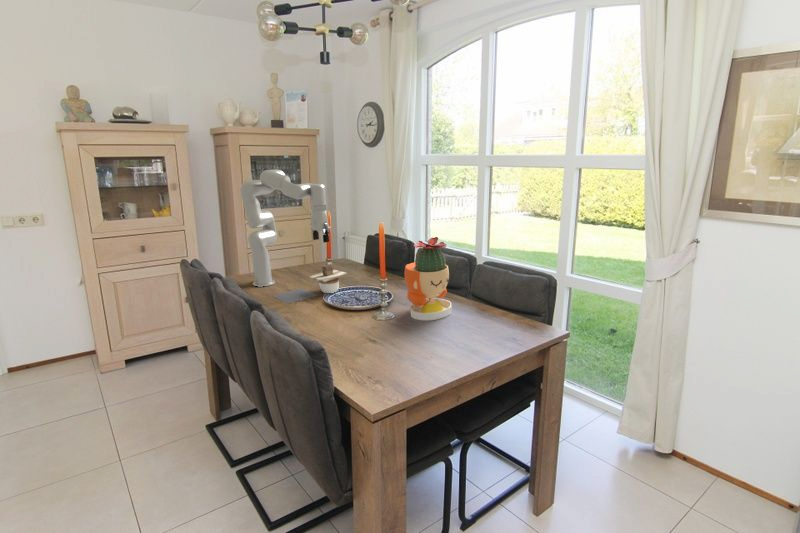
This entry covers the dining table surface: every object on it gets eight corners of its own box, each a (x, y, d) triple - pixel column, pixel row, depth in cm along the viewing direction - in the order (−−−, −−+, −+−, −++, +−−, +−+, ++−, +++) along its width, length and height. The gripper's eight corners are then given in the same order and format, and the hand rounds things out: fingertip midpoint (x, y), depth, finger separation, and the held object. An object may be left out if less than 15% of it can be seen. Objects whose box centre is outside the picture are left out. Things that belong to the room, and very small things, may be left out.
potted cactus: (460, 309, 214) (459, 236, 205) (429, 324, 198) (428, 245, 189) (424, 300, 228) (423, 231, 219) (393, 313, 212) (390, 239, 204)
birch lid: (309, 277, 245) (307, 267, 243) (332, 270, 254) (330, 260, 253) (324, 282, 234) (322, 271, 232) (348, 274, 243) (346, 264, 242)
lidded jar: (341, 289, 251) (340, 273, 249) (337, 296, 241) (336, 278, 238) (322, 289, 252) (321, 273, 250) (317, 296, 242) (316, 279, 240)
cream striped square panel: (271, 296, 244) (271, 295, 244) (301, 289, 255) (301, 288, 255) (288, 304, 231) (288, 303, 230) (318, 295, 242) (318, 295, 242)
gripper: (303, 207, 239) (306, 239, 244) (321, 210, 227) (324, 244, 231) (316, 206, 244) (318, 237, 249) (334, 209, 232) (336, 242, 236)
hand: (321, 240), depth 240 cm, fingers open, 9 cm apart
